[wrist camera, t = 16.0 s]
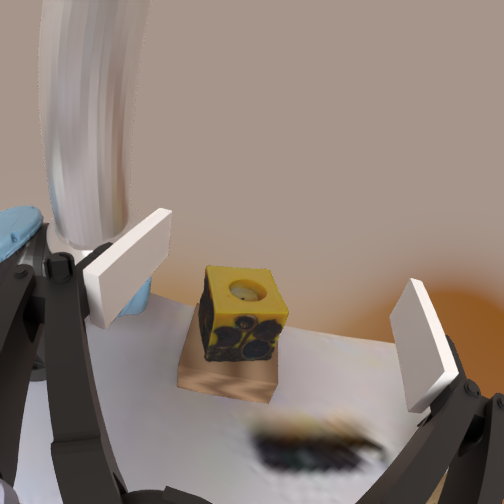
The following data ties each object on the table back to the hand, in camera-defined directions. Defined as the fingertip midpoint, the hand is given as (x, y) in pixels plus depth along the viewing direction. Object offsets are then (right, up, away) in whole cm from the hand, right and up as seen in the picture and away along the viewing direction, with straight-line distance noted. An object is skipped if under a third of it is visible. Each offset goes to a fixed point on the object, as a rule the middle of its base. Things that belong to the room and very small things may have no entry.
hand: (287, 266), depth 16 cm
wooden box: (-6, -18, +33) cm, 38 cm away
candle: (-5, -13, +31) cm, 33 cm away
